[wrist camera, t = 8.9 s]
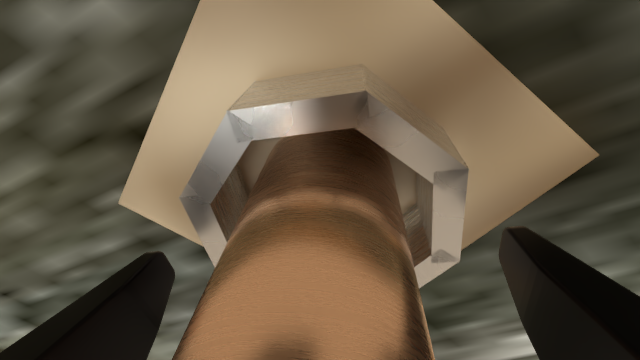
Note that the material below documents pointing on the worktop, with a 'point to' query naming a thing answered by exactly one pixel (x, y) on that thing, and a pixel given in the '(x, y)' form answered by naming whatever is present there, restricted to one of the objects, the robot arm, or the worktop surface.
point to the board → (384, 61)
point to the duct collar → (327, 115)
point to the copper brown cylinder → (315, 263)
